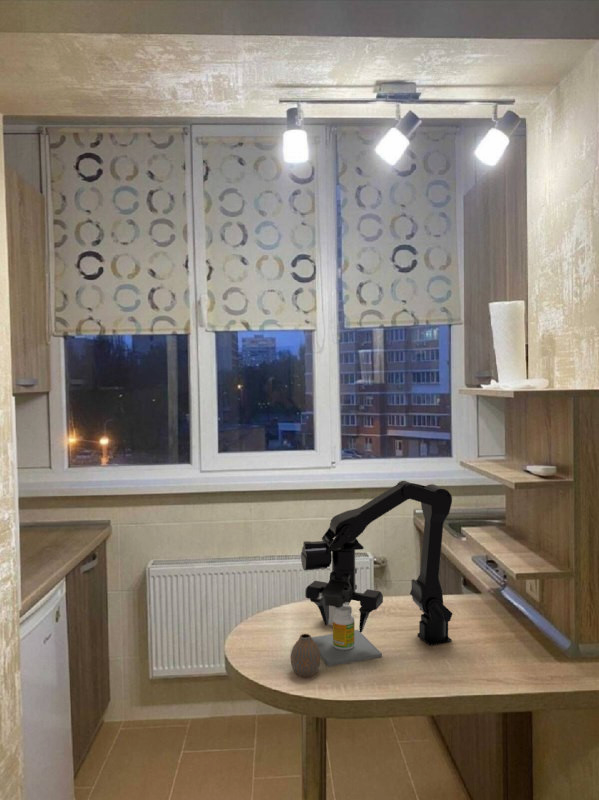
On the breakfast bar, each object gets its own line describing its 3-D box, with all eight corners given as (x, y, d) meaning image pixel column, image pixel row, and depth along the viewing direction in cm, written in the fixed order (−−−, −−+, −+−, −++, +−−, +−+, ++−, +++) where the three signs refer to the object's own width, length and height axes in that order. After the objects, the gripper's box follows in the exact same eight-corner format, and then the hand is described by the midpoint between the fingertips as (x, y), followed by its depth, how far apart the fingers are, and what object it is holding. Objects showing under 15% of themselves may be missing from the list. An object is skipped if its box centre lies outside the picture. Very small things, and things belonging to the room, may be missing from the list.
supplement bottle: (348, 652, 149) (348, 613, 148) (328, 647, 152) (328, 608, 151) (358, 643, 153) (358, 605, 153) (339, 638, 156) (339, 601, 156)
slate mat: (357, 632, 161) (357, 629, 161) (381, 656, 148) (382, 653, 148) (308, 640, 157) (308, 637, 157) (328, 666, 144) (328, 663, 144)
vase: (291, 665, 144) (291, 629, 144) (320, 665, 144) (320, 629, 144) (289, 680, 137) (289, 642, 137) (320, 680, 137) (320, 642, 137)
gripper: (295, 571, 148) (295, 634, 149) (368, 583, 140) (368, 649, 141) (314, 558, 158) (314, 617, 159) (383, 568, 150) (383, 630, 151)
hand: (343, 628), depth 152 cm, fingers open, 9 cm apart
